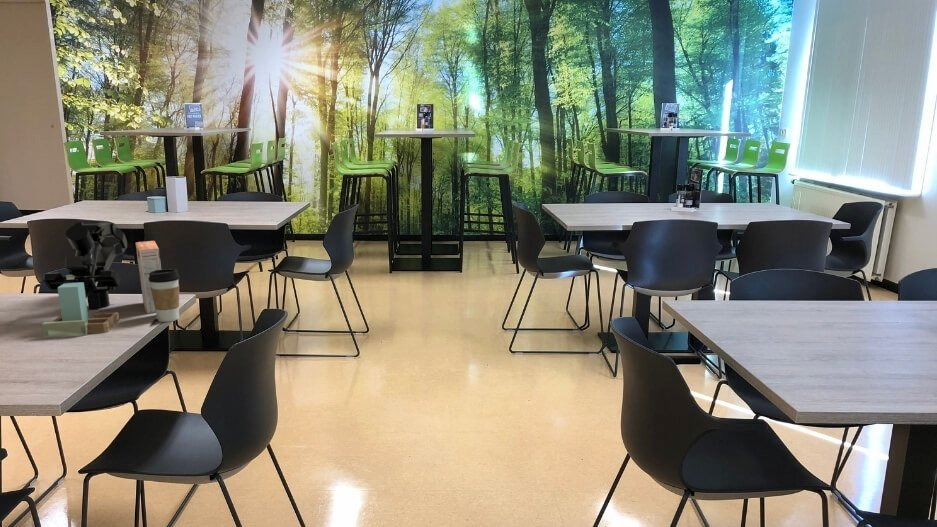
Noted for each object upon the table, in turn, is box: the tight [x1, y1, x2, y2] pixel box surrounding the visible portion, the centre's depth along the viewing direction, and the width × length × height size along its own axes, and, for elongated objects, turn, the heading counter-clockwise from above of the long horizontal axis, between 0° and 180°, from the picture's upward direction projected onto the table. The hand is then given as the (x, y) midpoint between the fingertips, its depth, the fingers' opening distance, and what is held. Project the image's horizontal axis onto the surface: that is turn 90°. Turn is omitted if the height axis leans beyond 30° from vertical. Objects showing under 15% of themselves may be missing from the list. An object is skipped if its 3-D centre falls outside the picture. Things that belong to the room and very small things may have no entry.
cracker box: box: [135, 240, 162, 314], centre depth 203 cm, size 14×6×21 cm, turn 30°
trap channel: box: [41, 311, 120, 339], centre depth 184 cm, size 14×15×5 cm
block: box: [57, 282, 90, 324], centre depth 184 cm, size 5×5×12 cm
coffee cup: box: [149, 268, 180, 323], centre depth 194 cm, size 8×8×15 cm
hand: (77, 305), depth 187 cm, fingers closed, pressing on block
